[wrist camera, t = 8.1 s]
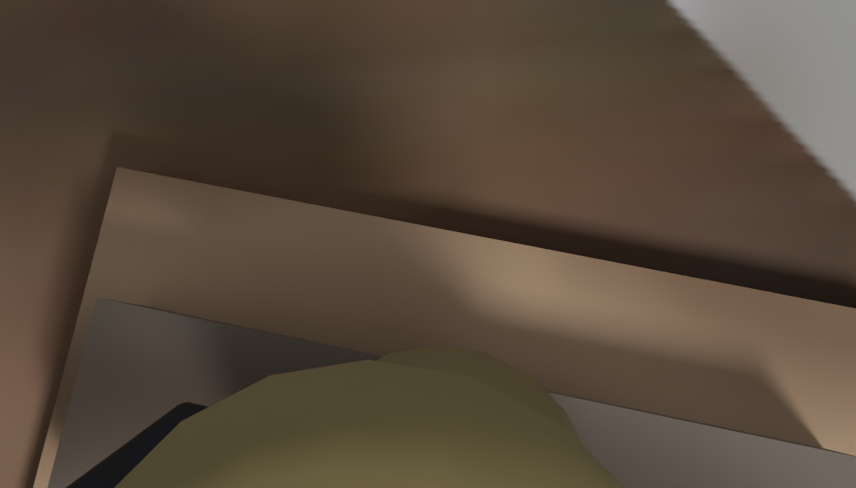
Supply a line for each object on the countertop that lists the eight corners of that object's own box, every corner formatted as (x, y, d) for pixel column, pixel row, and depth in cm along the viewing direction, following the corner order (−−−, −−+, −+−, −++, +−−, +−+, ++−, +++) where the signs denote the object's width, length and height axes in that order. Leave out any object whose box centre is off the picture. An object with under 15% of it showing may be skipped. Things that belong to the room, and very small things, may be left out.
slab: (821, 810, 18) (900, 915, 15) (26, 608, 20) (-71, 659, 17) (885, 322, 19) (971, 312, 16) (137, 177, 21) (69, 141, 18)
